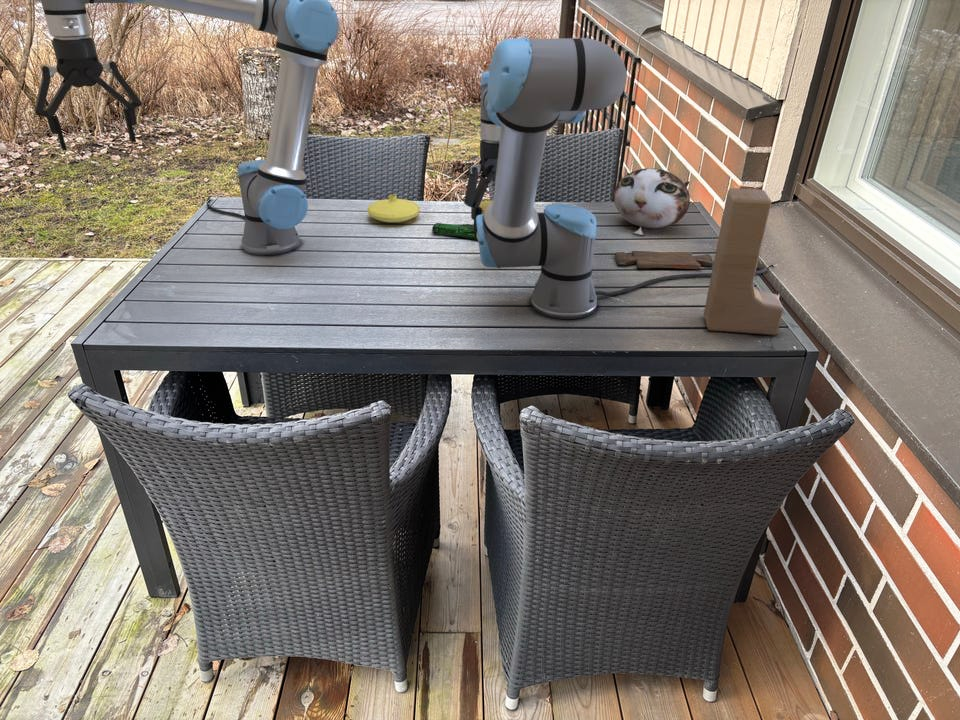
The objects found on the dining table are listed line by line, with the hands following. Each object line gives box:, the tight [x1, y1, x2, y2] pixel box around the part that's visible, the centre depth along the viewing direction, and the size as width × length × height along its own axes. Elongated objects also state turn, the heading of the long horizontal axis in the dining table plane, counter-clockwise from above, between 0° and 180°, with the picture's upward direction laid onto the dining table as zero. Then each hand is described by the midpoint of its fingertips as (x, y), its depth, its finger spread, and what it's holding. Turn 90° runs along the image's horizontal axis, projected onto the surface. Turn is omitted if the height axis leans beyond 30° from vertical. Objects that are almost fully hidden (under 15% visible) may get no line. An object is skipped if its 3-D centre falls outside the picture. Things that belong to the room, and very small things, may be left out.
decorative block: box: [703, 187, 785, 336], centre depth 152 cm, size 8×15×30 cm, turn 82°
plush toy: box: [613, 167, 691, 236], centre depth 209 cm, size 22×18×20 cm
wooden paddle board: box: [614, 250, 714, 270], centre depth 190 cm, size 26×2×10 cm
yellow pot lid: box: [366, 194, 420, 224], centre depth 215 cm, size 16×16×7 cm
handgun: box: [431, 222, 478, 241], centre depth 208 cm, size 16×3×15 cm
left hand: (99, 144), depth 154 cm, fingers open, 13 cm apart
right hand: (493, 228), depth 185 cm, fingers closed on canister, 9 cm apart
